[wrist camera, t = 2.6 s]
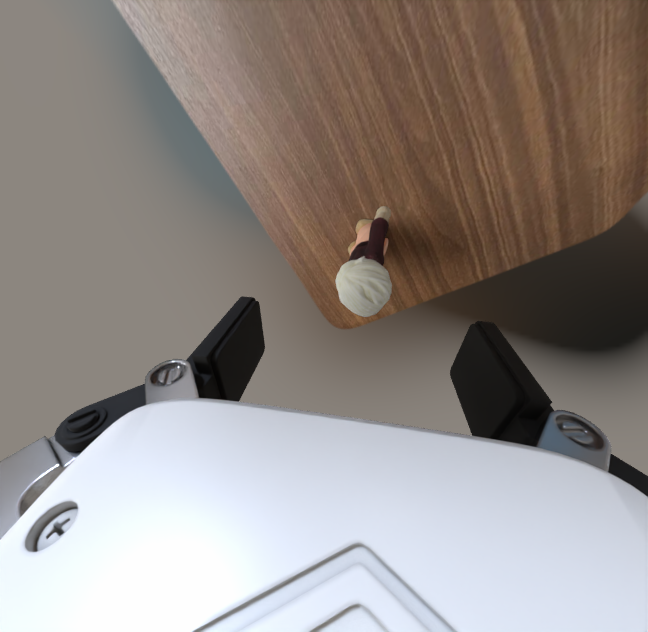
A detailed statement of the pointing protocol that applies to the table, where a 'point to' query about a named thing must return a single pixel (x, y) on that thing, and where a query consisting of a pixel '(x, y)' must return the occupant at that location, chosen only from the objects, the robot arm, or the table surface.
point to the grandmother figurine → (366, 267)
